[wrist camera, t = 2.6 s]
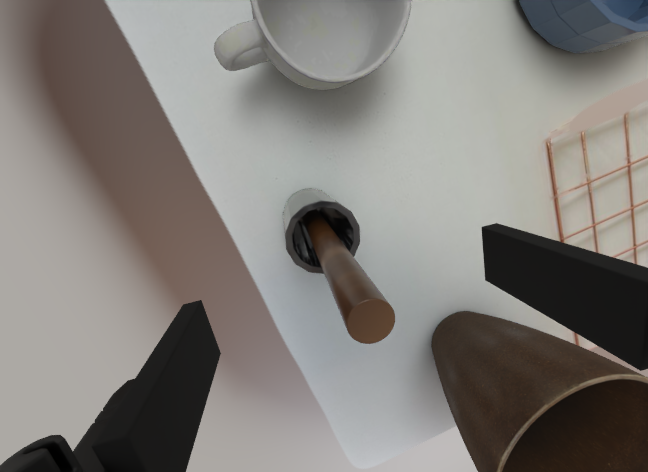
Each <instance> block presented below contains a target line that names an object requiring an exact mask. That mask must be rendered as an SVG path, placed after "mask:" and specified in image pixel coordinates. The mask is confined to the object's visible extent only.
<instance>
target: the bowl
mask: <svg viewBox="0 0 648 472" xmlns="http://www.w3.org/2000/svg"><path fill="white" fill-rule="evenodd" d="M519 3H520V5H521V7H522V9H523V11H524V13H525V15H526V17H527V19H528V20H529V22H530V24H531V26H532V28H533V29H534V30H535V31H537V32H538V33H539V34H540V35H541V36H542V37H543V38H544V39H545V40H546V41H548V42H549V43H550V44H551V45H553V46H555V47H558V48H561V49H564V50H566V51H569V52H572V53H587V52H599V51H602V50H605V49H608V48H611V47H615V46H618V45H621V44H624V43H627V42H630V41H633V40H636V39H639V38H642V37H645V36H648V0H519Z"/></svg>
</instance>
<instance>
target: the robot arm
mask: <svg viewBox="0 0 648 472" xmlns="http://www.w3.org/2000/svg"><path fill="white" fill-rule="evenodd" d="M482 239H483V253H484V267H485V280H486V281H488V282H490V283H491V284H493V285H495V286H496V287H498V288H500V289H502V290H503V291H505V292H507V293H508V294H510V295H512V296H514V297H515V298H517V299H519V300H520V301H522V302H524V303H526V304H527V305H529V306H531V307H532V308H534V309H536V310H538V311H539V312H541V313H543V314H544V315H546V316H548V317H550V318H551V319H553V320H555V321H556V322H558V323H560V324H562V325H563V326H565V327H567V328H568V329H570V330H572V331H574V332H575V333H577V334H579V335H580V336H582V337H584V338H586V339H587V340H589V341H591V342H592V343H594V344H596V345H598V346H599V347H601V348H603V349H604V350H606V351H608V352H610V353H611V354H613V355H615V356H617V357H618V358H620V359H621V360H623V361H625V362H627V363H628V364H630V365H632V366H633V367H635V368H637V369H639V370H640V371H641V370H645V369H648V268H647V267H643V266H640V265H637V264H633V263H630V262H626V261H623V260H620V259H616V258H613V257H609V256H606V255H603V254H599V253H596V252H592V251H589V250H586V249H582V248H579V247H575V246H572V245H569V244H565V243H562V242H558V241H555V240H552V239H548V238H545V237H542V236H538V235H535V234H531V233H528V232H525V231H521V230H518V229H514V228H511V227H508V226H504V225H501V224H497V223H496V224H492V225H488V226H484V227H482ZM220 354H221V353H220V350H219V347H218V345H217V342H216V339H215V337H214V334H213V331H212V328H211V326H210V323H209V320H208V317H207V315H206V312H205V309H204V306H203V304H202V301H201V300H200V301H196V302H192V303H188V304H184V305H183V306H182V307H181V309H180V311H179V312H178V314H177V315H176V317H175V318H174V320H173V321H172V323H171V324H170V326H169V328H168V329H167V331H166V332H165V334H164V335H163V337H162V338H161V340H160V341H159V343H158V344H157V346H156V347H155V349H154V351H153V352H152V354H151V355H150V357H149V358H148V360H147V361H146V363H145V365H144V366H143V368H142V369H141V371H140V372H139V374H138V376H137V377H136V378H135V379H132V380H129V381H127V382H126V383H125V384H124V385H123V386H122V387H120V388H119V389H118V390H117V391H116V392H115V393H114V394H113V395H112V397H111V398H110V399H109V401H108V402H107V404H106V405H105V407H104V408H103V411H101V412H100V414H99V415H98V417H97V418H96V419H95V423H93V424H92V425H91V427H90V428H89V429H88V431H87V432H86V434H85V435H84V436H83V438H82V439H81V441H80V442H79V444H78V445H77V447H76V448H75V449H74V451H73V452H72V450H71V448H70V446H69V445H68V443H67V441H66V440H65V439H64V438H63V437H62V436H61V435H51V436H48V437H45V438H43V439H40V440H37V441H35V442H33V443H32V444H30V445H28V446H27V447H24V448H23V449H21V450H20V451H18V452H17V453H15V454H14V455H13V456H11V457H10V458H8V459H7V460H6V461H5V462H4V463H3V464H2V465H0V472H186V469H187V465H188V462H189V458H190V455H191V452H192V449H193V445H194V442H195V438H196V435H197V432H198V428H199V425H200V422H201V418H202V415H203V411H204V408H205V405H206V401H207V397H208V394H209V391H210V387H211V384H212V381H213V377H214V374H215V371H216V367H217V364H218V361H219V357H220Z"/></svg>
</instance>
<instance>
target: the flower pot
mask: <svg viewBox="0 0 648 472" xmlns="http://www.w3.org/2000/svg"><path fill="white" fill-rule="evenodd" d="M432 351H433V355H434V359H435V364H436V367H437V371H438V374H439V378H440V381H441V384H442V387H443V390H444V393H445V396H446V399H447V402H448V404H449V407H450V410H451V412H452V415H453V417H454V420H455V422H456V425H457V427H458V429H459V431H460V434H461V436H462V439H463V441H464V443H465V445H466V447H467V450H468V452H469V454H470V456H471V458H472V460H473V462H474V464H475V466H476V468H477V470H478V472H648V378H647V377H645V376H643V375H641V374H639V373H637V372H635V371H633V370H631V369H629V368H626V367H624V366H622V365H620V364H618V363H615V362H613V361H611V360H609V359H607V358H605V357H603V356H600V355H598V354H596V353H594V352H591V351H589V350H587V349H584V348H582V347H580V346H577V345H575V344H573V343H570V342H568V341H565V340H563V339H560V338H557V337H555V336H552V335H549V334H547V333H544V332H541V331H539V330H536V329H533V328H530V327H527V326H524V325H521V324H518V323H515V322H511V321H508V320H504V319H501V318H497V317H493V316H489V315H484V314H480V313H475V312H469V311H463V312H457V313H454V314H452V315H450V316H448V317H447V318H446V319H444V320H443V321H442V322H441V323H440V324H439V325H438V327H437V328H436V330H435V332H434V334H433V338H432Z"/></svg>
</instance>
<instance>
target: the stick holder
mask: <svg viewBox="0 0 648 472" xmlns="http://www.w3.org/2000/svg"><path fill="white" fill-rule="evenodd" d="M315 209H317V210H318V211H319V213H320V214H321V215H322V217H323V218H324V219H325V221H326V222H327V223H328V225H329V226H330V227H331V228H332V230H333V231H334V232H335V234H336V235H337V236H338V238H339V239H340V240H341V241H342V243H343V244H344V245H345V247H346V248H347V249H348V251H349V252H350V253H351V255H352V256H353V257H354V255H355V253H356V250H357V248H358V246H359V242H360V232H359V225H358V223H357V221H356V219H355V217H354V216H353V214H352V212H351V211H349V210H348V209H347V208H345V207H344V206H343V205H341V204H340V203H339V202H337V201H336V200H334V199H333V198H332V197H330V196H329V195H327V194H326V193H325V192H323V191H322V190H318V189H312V188H309V189H303V190H300V191H298V192H296V193H295V194H293V195H292V196H291V197H290V198H289V199H288V201H287V203H286V205H285V207H284V211H283V220H284V230H285V239H286V249H287V252H288V253H289V255H290V256H291V258H292V259H293V261H294V262H295V264H296V265H298V266H300V267H301V268H303V269H305V270H306V271H308V272H312V273H322V274H324V272H323V269H322V267H321V264H320V262H319V259H318V257H317V255H316V252H315V250H314V247H313V245H312V242H311V240H310V237H309V235H308V232H307V230H306V228H305V225H304V223H303V220H302V217H303V216H304V215H305V214H306V213H307V212H308V211H312V210H315Z"/></svg>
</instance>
